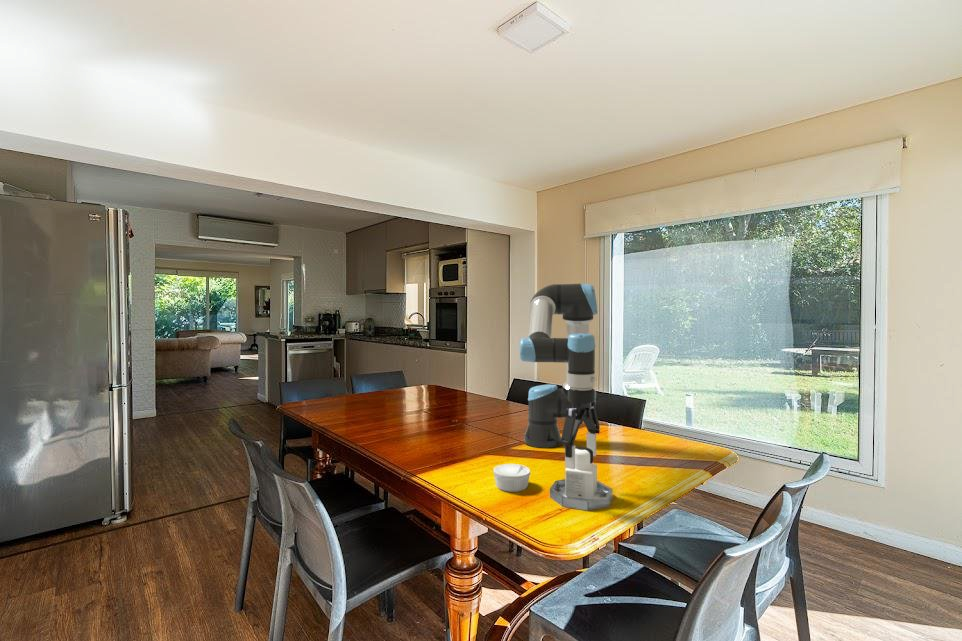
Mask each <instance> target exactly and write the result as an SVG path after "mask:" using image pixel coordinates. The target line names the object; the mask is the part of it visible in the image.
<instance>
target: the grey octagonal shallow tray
mask: <svg viewBox="0 0 962 641" xmlns="http://www.w3.org/2000/svg"><path fill="white" fill-rule="evenodd" d="M613 493H614V491H613V488H611V487H610V486H609V485H606V484H605V483H603V482H602V481H599V480H597V491H596V494H595V496H594V498H593V499H591V500H587V499H580V498H574V497H568V496H565V478H564V479H558V480H555V481H554V482H553V483H552V485H551V486H550V488H549V498H550V499H552V500H553V501H554V502H556V503H557V504H558V505H560V506H561V507H563V508H570V509H575V510H576V509H577V510H581V511H593V510H594V511H595V510H599V509H604V508H605V509H606V508H610V506H611V503H612V501H613V498H614V496H613Z"/></svg>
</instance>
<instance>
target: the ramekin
mask: <svg viewBox="0 0 962 641" xmlns="http://www.w3.org/2000/svg"><path fill="white" fill-rule="evenodd" d="M493 474H494V481H495V486H496V487H497V488H498V490H500V491H504V492H507V493H519V492H522V491H524V490H526V489H527V488H528V485H529V480H530V475H531V469H530V468H529V467H527V466H526V465H523V464H518V463H517V464H516V463H504V464H498V465H496V466H494V467H493Z"/></svg>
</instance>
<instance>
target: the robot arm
mask: <svg viewBox="0 0 962 641" xmlns="http://www.w3.org/2000/svg"><path fill="white" fill-rule="evenodd" d="M529 311H530V312H529V313H531V315H530V322H529V328H528V335H527V336H528V337H523V338H521V339H520V341H519V357H520V358H519V359H520V360H521V361H522V362H526V363H528V362H529V363H564V364H565V363H566V381H565V382H564V383H563V384H562V388H558V386H557V385H556V384H550V383H549V384H540V385H536V386H532V387H530V388H529V390H528V398H527V401H528V415H527V416H528V423H527V427H526V431H525V433H524V436H523V441H524V442H525V443H526V444H525V443H524V444H525V445H527V444H528V445H527V446H529V445H530V446H529V447H533V446H534V448H539V447H541V449H543V448H544V449H546V448H547V449H548V448H549V447H551V448H555V447H556V446H557V447H559V446H561V445H564V467H565V469H566V468H569V469H573V470H574V469H575V447H576V445H574V443H575V441H576V438H577V435H578V431H579V428H580V427H581V425H582V424H584V425H585V427H586V430H587V431H588V432H586V447H587V448H589V449H591V450H592V451H593V457H596V456H597V434H598V435H599V434H600V429H601V426H600V422H599V417H598V415H597V414H598V413H597V409H596V403H597V401H596V400H597V391H596V389H594V387H595V385H596V384H595V381H596V380H597V377H595V376H596V375H595V373H596V372H595V371H596V370H595V369H596V368H595V366H596V365H595V364H596V363H595V362H596V361H595V360H596V342H595V340H596V339H595V335H594V334H592V333H590V323H591V322H592V321H593V320H594V316H596V315H597V314H598V304H597V297H596V289H595V287H594V285H593V284H590V283H567V284H566V283H559V284H558V283H557V284H555V283H554V284H549V285H546V286H544V287H542V288H541V289H539V290H538V291H537V292H536V293H534V295H533V296H532V298H531V300H530V302H529ZM554 315H562V320H563V321H564V322H565V324H566V337H552V332H553V331H552V330H553V316H554ZM560 418H561V419H564V425H563V429H562V432H560V430H559V425H558V419H560ZM549 449H550V448H549Z"/></svg>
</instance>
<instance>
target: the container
mask: <svg viewBox="0 0 962 641" xmlns="http://www.w3.org/2000/svg"><path fill="white" fill-rule="evenodd" d="M564 473H565V475H564V477H565V478H564V479H565V496H568V497H574V498H580V499H587V500H591V499H593V498H594V496H595V494H596V491H597V481H598V465H597V464H594V456H593V451H592V450H591V449H589V448H587V446H575V469H574V470H573V469H569V468H565V471H564Z"/></svg>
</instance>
